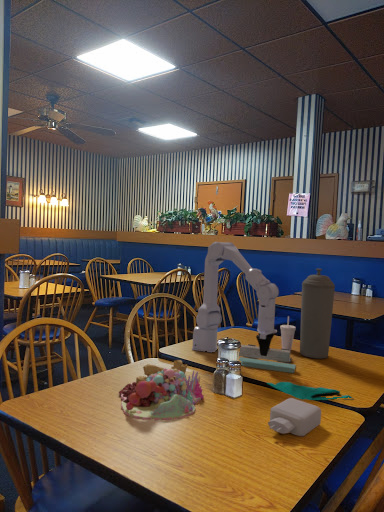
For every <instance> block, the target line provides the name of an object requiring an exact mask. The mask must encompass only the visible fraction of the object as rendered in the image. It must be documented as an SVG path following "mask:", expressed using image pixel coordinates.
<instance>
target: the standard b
mask: <svg viewBox="0 0 384 512" xmlns="http://www.w3.org/2000/svg"><path fill="white" fill-rule="evenodd" d="M281 350H289V349H282V348H281ZM292 359H293V358H292V357H290V362H285V363H287V364H291V362H292ZM278 362H279V363H283V362H282V361H278Z"/></svg>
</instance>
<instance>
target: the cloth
mask: <svg viewBox="0 0 384 512" xmlns="http://www.w3.org/2000/svg"><path fill="white" fill-rule="evenodd" d="M266 384H267V385H269V386H271V387H272V388H274V389H276V390H278V391H280V392H283V393H284V394H286V395H289V396H292V397H293V398H295V399H297V400H301V401H304V400H309V401H320V400H322V401H329V400H328V399H337V398H348V397H349V398H353V397H352V396H351V395H349V394H346V395H341V396H342V397H333V398H326V397H321V396H325V395H332V394H338V393H341V391H340V390H337V389H332V388H326V387H322V386H321V387H313V386H305V385H299V384H296V383H292V382H290V381H280V382H276V383H275V384H274V382H273V383H272V382H266Z"/></svg>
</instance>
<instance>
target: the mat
mask: <svg viewBox="0 0 384 512" xmlns="http://www.w3.org/2000/svg"><path fill="white" fill-rule="evenodd" d="M239 357H240V359H239V360H240V361H241V365H242V367H245V368H246V367H247V368H255V369H262V370H266V371H267V370H268V371H273V372H281V373H282V372H283V373H288V374H295V371H296V364H294V363H293V364H291V363H286V362H279V361H273V360H266V359H259V358H250V357H243V356H239Z"/></svg>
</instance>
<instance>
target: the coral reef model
mask: <svg viewBox="0 0 384 512" xmlns="http://www.w3.org/2000/svg"><path fill="white" fill-rule="evenodd" d="M187 367H188V364H183V361H182V360H181V359H176V360H173V364H172V366H171V368H166V367H161V366H157V365H154V364H150V363H149V364H148V363H147V364H145V365H144V366H143V367H142V368H143V373H144V376H142V375H139V376H136V378H135V381H133V382H131V383H127V384H126V385H124V387H123V388H122V389H121V390H119V391H118V394H119V397H120V400H122V401H120V402H121V403H120V408H121V410H122V412H123V413H124V414H125V415H126V416H128V417H132V418H135V419H139V420H140V419H142V420H149V421H150V420H154V421H161V420H162V421H170V420H177V419H178V420H179V419H182V418H186V417H188V416H190V415H193V414H194V413H196V406H195V405H196V404H198V403H199V402H201V401H202V400H203V399H204V394H203V389H202V386H201V384H200V382H201V376H200V375H198V374H199V372H198V371H196V372H195V370H193V371H192V375H190V374H189V375H188V379H187V374H186V372H187Z"/></svg>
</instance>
